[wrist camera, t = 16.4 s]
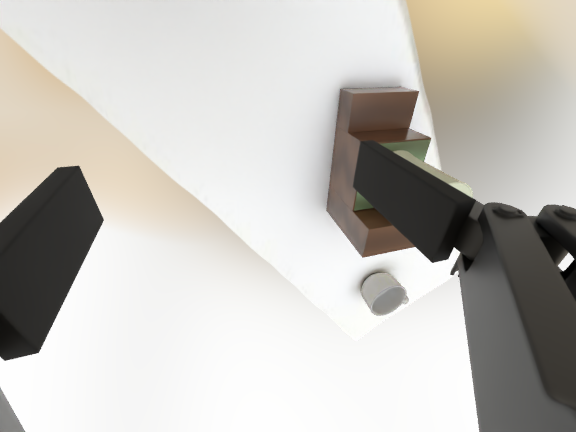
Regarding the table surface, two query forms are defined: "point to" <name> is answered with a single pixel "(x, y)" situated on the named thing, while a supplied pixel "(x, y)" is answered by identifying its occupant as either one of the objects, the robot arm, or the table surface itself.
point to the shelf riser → (349, 132)
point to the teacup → (383, 293)
